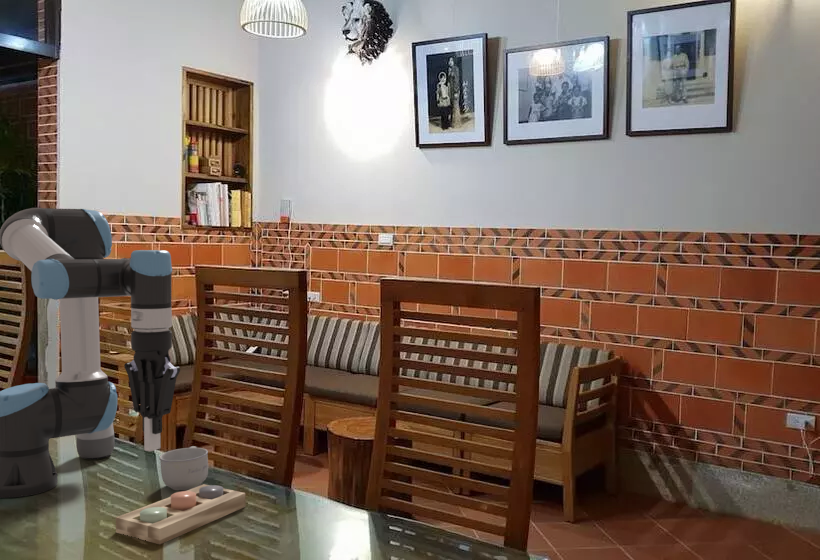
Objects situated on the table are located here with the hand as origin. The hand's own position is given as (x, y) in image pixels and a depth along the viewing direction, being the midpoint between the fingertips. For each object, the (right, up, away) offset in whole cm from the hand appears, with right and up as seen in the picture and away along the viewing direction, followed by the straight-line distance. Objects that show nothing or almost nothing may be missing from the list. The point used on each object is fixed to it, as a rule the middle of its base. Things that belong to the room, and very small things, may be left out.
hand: (152, 449), depth 150 cm
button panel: (+4, -16, +8) cm, 18 cm away
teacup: (-2, -15, +30) cm, 34 cm away
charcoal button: (+8, -15, +15) cm, 22 cm away
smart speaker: (-33, -14, +53) cm, 64 cm away
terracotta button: (+4, -14, +8) cm, 16 cm away
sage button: (0, -15, +1) cm, 15 cm away
